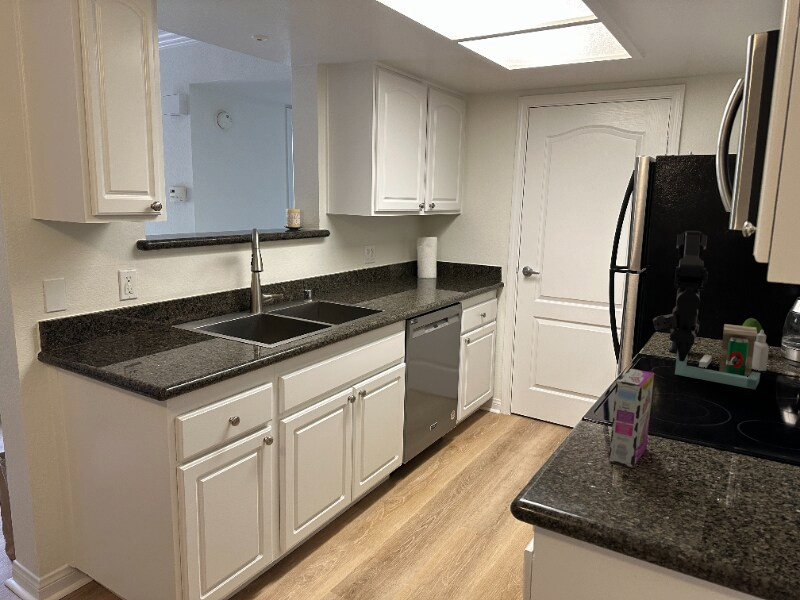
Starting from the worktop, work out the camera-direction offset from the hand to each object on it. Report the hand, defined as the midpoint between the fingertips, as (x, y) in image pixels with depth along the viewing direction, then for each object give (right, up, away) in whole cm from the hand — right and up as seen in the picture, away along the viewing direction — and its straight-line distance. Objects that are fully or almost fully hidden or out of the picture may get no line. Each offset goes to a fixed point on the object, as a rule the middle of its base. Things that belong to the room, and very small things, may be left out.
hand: (681, 360), depth 169 cm
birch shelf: (+15, -5, -1) cm, 16 cm away
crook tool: (+9, -5, -2) cm, 10 cm away
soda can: (+15, -5, -1) cm, 15 cm away
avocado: (+35, -1, +26) cm, 44 cm away
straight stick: (+14, -3, +13) cm, 19 cm away
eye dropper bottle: (+27, -4, +8) cm, 28 cm away
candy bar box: (-36, -14, -53) cm, 66 cm away
